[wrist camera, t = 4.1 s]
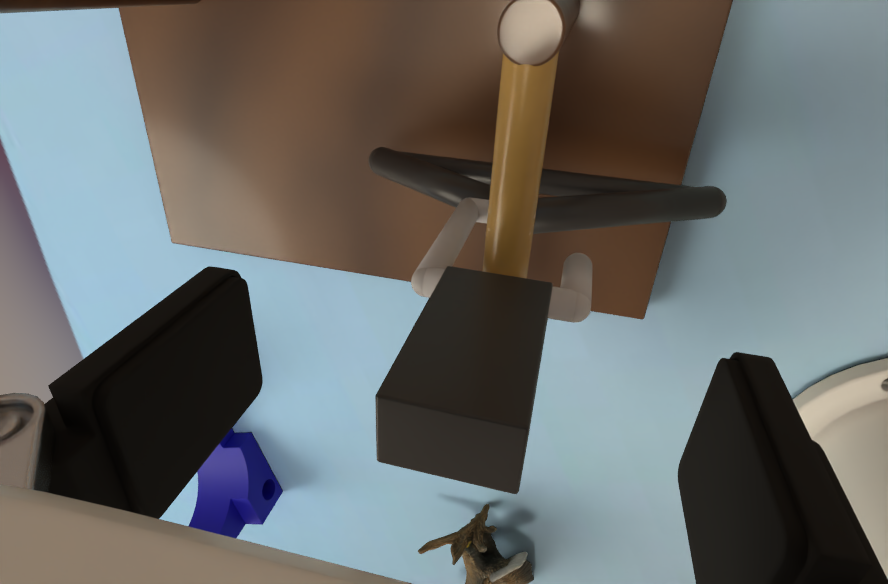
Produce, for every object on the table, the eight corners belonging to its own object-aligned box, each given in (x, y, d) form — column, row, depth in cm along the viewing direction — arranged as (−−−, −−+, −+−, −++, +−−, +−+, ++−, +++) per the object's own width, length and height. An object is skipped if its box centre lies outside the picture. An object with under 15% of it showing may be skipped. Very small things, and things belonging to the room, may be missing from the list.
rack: (729, -12, 20) (1598, 12, 3) (642, 307, 27) (725, 884, 10) (125, -45, 25) (-981, -114, 7) (184, 235, 32) (-310, 536, 14)
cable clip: (282, 491, 42) (239, 561, 37) (235, 491, 43) (187, 558, 38) (215, 365, 37) (154, 426, 32) (164, 369, 38) (98, 428, 33)
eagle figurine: (403, 511, 38) (427, 613, 40) (430, 585, 31) (457, 702, 33) (504, 476, 39) (521, 575, 42) (550, 538, 33) (567, 653, 35)
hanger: (729, 178, 20) (950, 518, 7) (716, 218, 21) (896, 586, 8) (374, 137, 23) (82, 333, 10) (374, 173, 24) (104, 398, 11)
